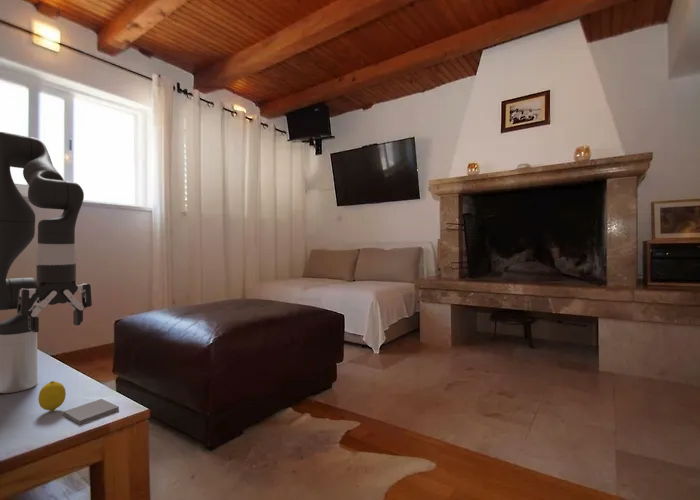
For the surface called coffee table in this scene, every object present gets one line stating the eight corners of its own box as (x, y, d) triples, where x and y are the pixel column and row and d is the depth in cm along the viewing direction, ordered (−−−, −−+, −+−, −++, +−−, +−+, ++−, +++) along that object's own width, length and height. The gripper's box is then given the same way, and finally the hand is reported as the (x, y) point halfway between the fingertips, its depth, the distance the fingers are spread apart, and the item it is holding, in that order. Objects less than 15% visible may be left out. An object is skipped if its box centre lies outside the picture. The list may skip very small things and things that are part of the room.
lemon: (62, 404, 100) (62, 375, 99) (68, 410, 96) (68, 380, 96) (36, 411, 95) (36, 381, 95) (41, 418, 92) (41, 387, 92)
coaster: (63, 415, 94) (63, 411, 94) (101, 402, 101) (101, 398, 101) (79, 424, 89) (79, 420, 89) (118, 410, 97) (118, 406, 97)
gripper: (82, 260, 97) (82, 320, 97) (12, 262, 85) (12, 332, 85) (96, 262, 93) (96, 325, 94) (25, 264, 81) (25, 337, 81)
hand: (56, 328), depth 89 cm, fingers open, 8 cm apart
